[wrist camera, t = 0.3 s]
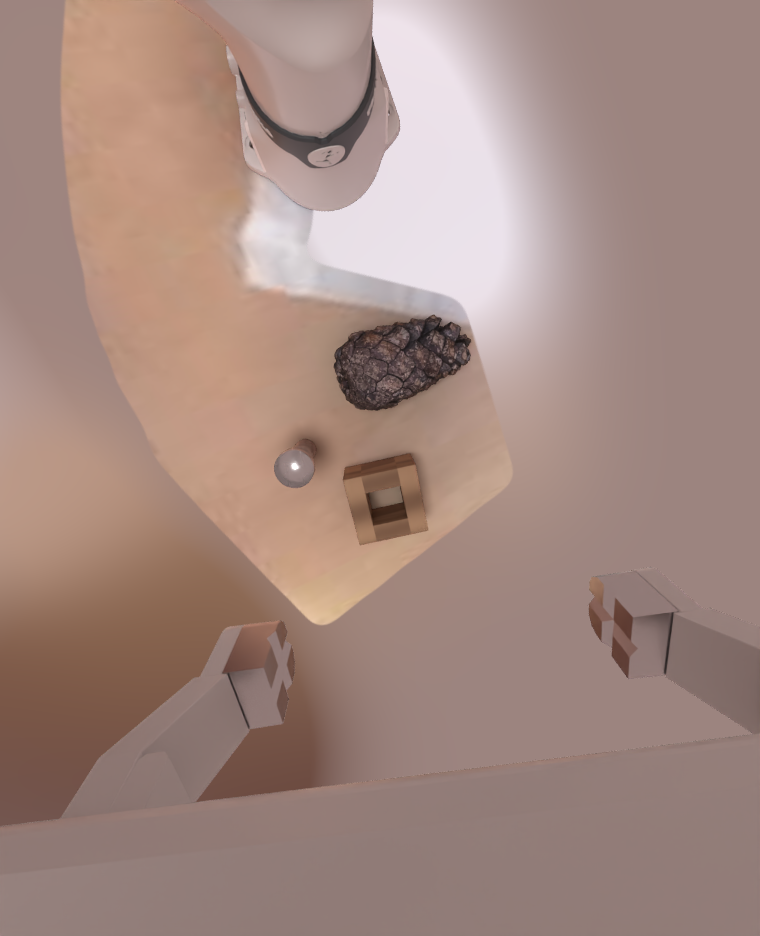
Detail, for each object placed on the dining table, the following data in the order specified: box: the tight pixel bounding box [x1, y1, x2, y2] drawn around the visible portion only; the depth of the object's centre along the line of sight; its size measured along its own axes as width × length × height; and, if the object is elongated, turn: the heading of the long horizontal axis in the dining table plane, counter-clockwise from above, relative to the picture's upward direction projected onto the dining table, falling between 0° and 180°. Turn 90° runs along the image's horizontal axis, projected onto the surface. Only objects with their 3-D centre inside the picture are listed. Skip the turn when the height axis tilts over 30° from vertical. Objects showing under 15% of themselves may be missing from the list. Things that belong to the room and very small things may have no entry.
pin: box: [274, 439, 316, 488], centre depth 53 cm, size 5×5×10 cm
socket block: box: [343, 454, 428, 545], centre depth 57 cm, size 10×10×6 cm
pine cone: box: [334, 315, 471, 410], centre depth 49 cm, size 10×18×10 cm, turn 114°
